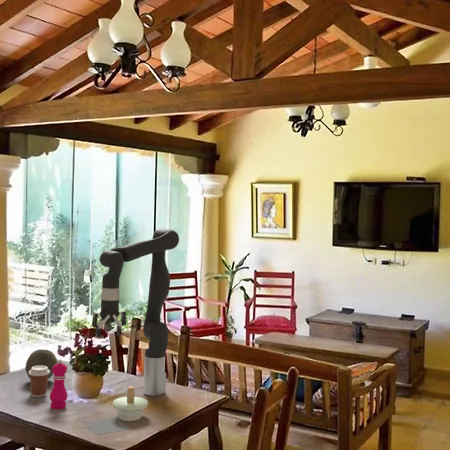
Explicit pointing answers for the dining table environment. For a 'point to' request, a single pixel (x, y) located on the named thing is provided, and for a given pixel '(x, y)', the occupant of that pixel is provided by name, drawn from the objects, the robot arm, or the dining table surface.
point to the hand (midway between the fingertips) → (108, 336)
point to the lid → (130, 401)
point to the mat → (106, 426)
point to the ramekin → (129, 415)
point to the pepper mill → (58, 386)
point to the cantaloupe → (41, 360)
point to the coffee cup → (39, 380)
